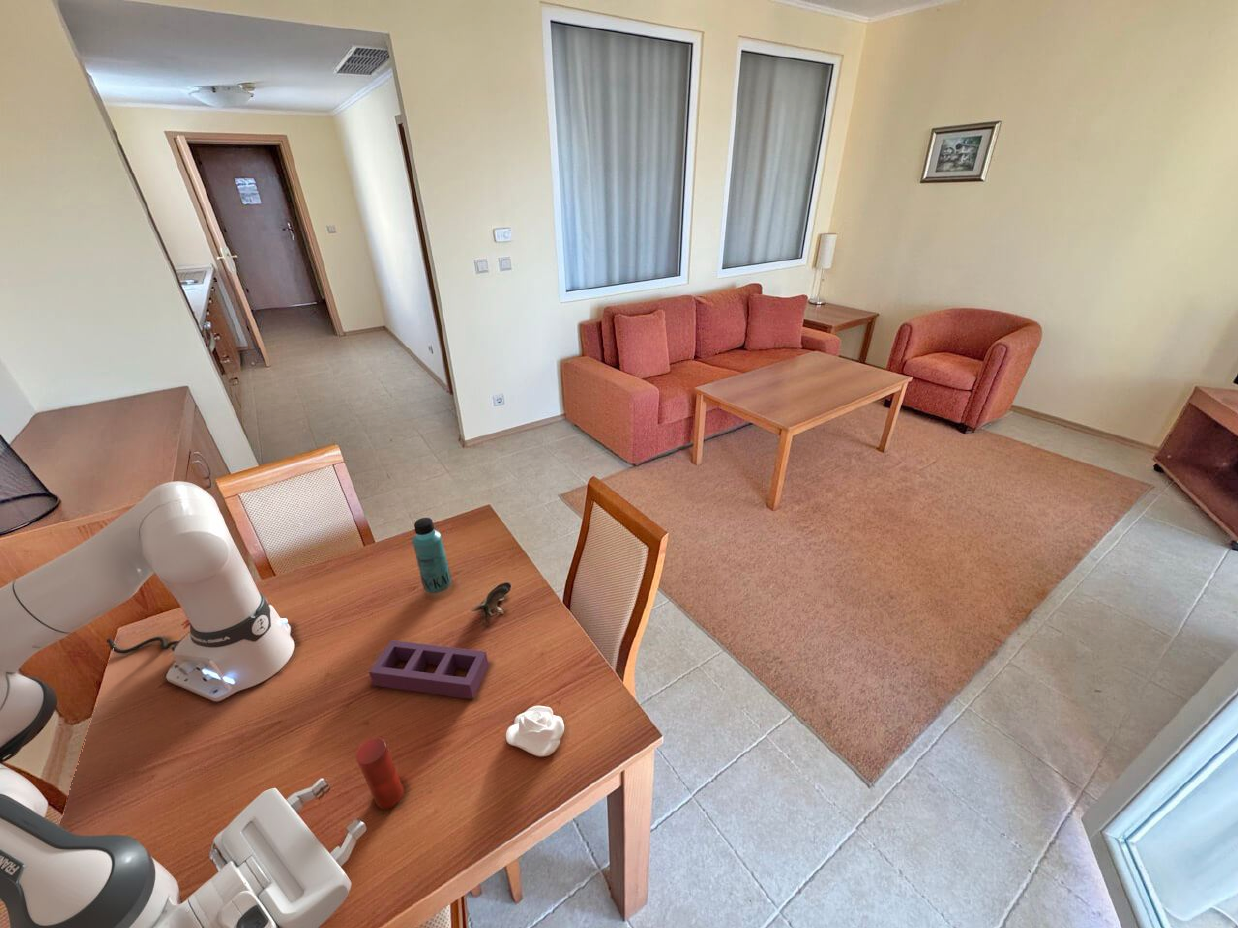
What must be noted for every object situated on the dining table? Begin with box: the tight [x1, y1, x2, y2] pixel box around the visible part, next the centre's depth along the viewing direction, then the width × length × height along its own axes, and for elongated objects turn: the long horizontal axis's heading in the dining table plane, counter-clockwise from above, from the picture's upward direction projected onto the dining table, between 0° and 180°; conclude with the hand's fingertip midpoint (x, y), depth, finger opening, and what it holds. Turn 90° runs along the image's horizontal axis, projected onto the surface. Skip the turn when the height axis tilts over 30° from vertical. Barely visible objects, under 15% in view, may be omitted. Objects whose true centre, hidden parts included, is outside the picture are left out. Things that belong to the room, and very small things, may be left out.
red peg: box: [355, 737, 404, 810], centre depth 76 cm, size 4×4×12 cm
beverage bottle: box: [411, 517, 452, 594], centre depth 115 cm, size 6×7×20 cm
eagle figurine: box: [470, 581, 512, 626], centre depth 112 cm, size 8×7×9 cm
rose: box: [505, 705, 565, 757], centre depth 86 cm, size 10×4×10 cm
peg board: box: [368, 639, 489, 700], centre depth 97 cm, size 20×8×4 cm, turn 81°
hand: (344, 802), depth 71 cm, fingers open, 8 cm apart
